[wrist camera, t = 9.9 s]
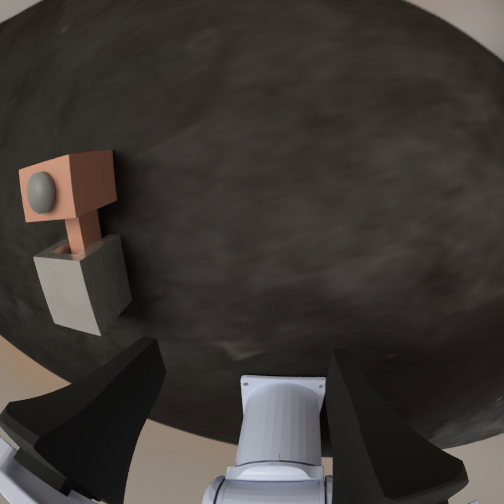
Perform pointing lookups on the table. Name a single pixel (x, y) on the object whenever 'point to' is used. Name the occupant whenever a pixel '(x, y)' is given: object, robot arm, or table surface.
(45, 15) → the table surface
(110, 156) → the pink button lever
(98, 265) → the block
